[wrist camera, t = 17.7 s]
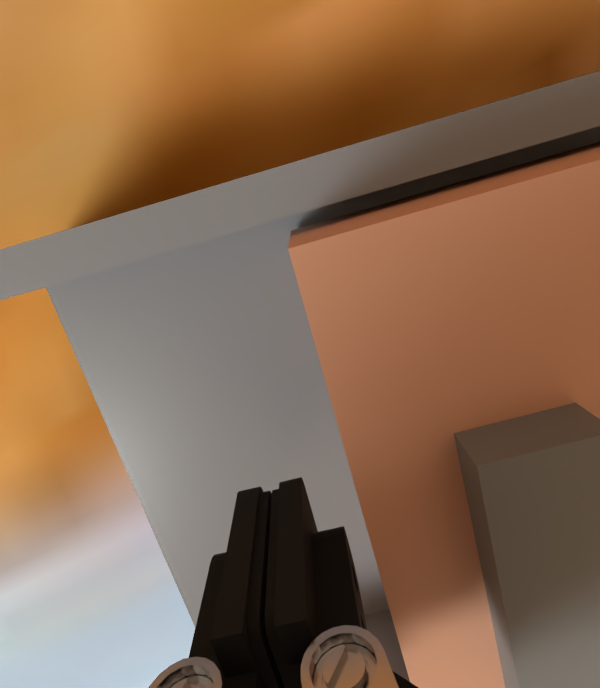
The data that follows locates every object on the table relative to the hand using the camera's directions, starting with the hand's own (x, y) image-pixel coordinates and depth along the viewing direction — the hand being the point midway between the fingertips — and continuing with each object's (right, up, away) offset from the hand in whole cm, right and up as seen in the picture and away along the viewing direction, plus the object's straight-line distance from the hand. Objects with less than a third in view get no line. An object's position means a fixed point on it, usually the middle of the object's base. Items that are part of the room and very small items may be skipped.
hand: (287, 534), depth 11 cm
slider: (+6, +3, +3) cm, 7 cm away
